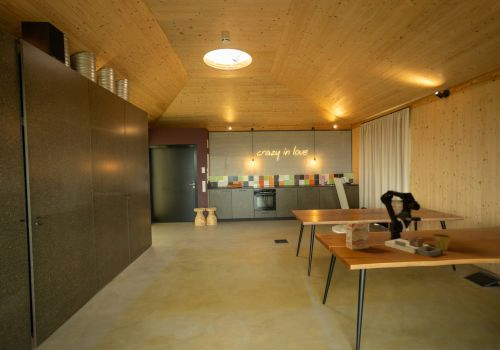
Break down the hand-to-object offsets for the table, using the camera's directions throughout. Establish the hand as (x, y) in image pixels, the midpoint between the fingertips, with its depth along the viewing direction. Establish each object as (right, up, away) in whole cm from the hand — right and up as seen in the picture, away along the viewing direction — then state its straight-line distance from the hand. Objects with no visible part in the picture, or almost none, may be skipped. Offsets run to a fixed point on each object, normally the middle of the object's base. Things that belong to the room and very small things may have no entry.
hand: (406, 228), depth 203 cm
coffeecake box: (-42, -13, -9) cm, 45 cm away
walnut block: (-3, -9, -16) cm, 19 cm away
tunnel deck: (-4, -12, -14) cm, 19 cm away
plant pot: (+17, -12, -14) cm, 25 cm away
